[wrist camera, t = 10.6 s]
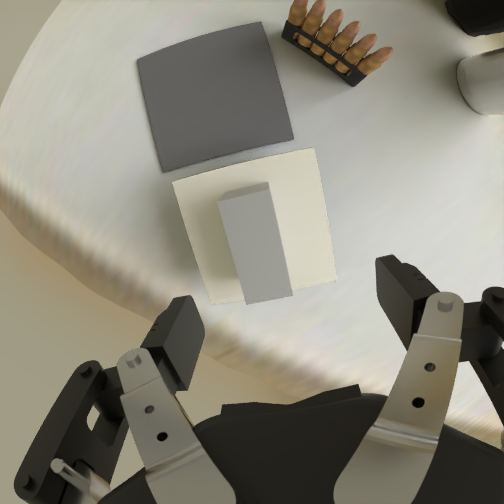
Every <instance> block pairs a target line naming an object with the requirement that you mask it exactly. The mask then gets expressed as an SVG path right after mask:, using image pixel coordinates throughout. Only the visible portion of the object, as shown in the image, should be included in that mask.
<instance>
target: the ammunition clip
mask: <svg viewBox="0 0 504 504" xmlns="http://www.w3.org/2000/svg"><path fill="white" fill-rule="evenodd" d="M307 2H308V0H294V2H293V4H292V6H291V8H290V12H289V17H288V20H287V21H286V23H285V26H284V29H283V33H282V36H281V37H282V38H283V39H285V40H287V41H288V42H290V43H292V44H293V45H295V46H296V47H298V48H300V49H301V50H303V51H304V52H306V53H307V54H309V55H310V56H312V57H313V58H315V59H316V60H318V61H319V62H320V63H322V64H323V65H325V66H326V67H327V68H329V69H330V70H331V71H333V72H334V73H336V74H337V75H338V76H339V77H341V78H342V79H343V80H345V81H346V82H347V83H348V84H350V85H351V86H352V87H355V86H356V85H357V84H358V83H359V82H360V81H362V80H363V79H364V78H365V77H366V76H367V75H368V74H370V73H371V72H373V71H374V70H376V69H377V68H379V67H380V66H381V64H382V63H383V62H384V61H386V60H387V59H388V58H389V57H390V56H391V54H392V52H393V48H392V47H384V48H381V49H379V50H378V51H376V52H374V53H373V54H369V55H368V56H366V54H367V52H368V51H369V50H370V48H371V47H372V46H373V45H374V44H375V42H376V39H377V36H376V34H369V35H366V36H365V37H363V38H362V39H361V40H359V41H358V42H357V43H354V44H353V45H352V46H351V47H349V46H350V45H351V44H352V42H353V39H354V38H355V36H356V35H357V33H358V31H359V29H360V22H359V21H354V22H352V23H350V24H349V25H347V26H346V27H345V29H343V31H342V32H340V33H339V34H338V35H337V36H336V37H335V35H336V34H337V32H338V28H339V26H340V23H341V22H342V19H343V11H342V10H341V9H338V10H336V11H334V12H333V13H332V14H331V15H330V16H329V18H328V19H327V21H326V22H325V23H323V25H322V26H321V27H320V25H321V23H322V20H323V15H324V11H325V7H326V3H325V0H317V1H316V2H315V3H314V4H313V6H312V8H311V10H310V12H309V13H308V14H307V16H306V13H307ZM305 16H306V17H305ZM302 26H303V27H302ZM301 29H302V30H301ZM318 31H319V32H318ZM317 32H318V34H317ZM316 34H317V36H316ZM315 36H316V38H315ZM332 40H333V42H332ZM331 42H332V43H331ZM330 43H331V44H330ZM329 45H330V46H329ZM328 46H329V47H328ZM345 51H346V52H345ZM344 52H345V53H344ZM343 53H344V54H343ZM342 54H343V56H342ZM341 56H342V57H341ZM364 56H366V57H365V58H363V57H364ZM358 62H359V63H358ZM356 63H358V64H356ZM355 64H356V65H355ZM354 65H355V66H354Z"/></svg>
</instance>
